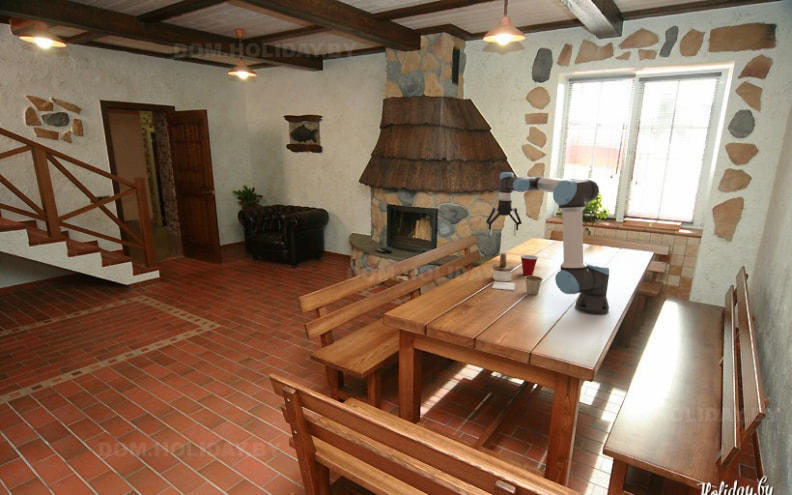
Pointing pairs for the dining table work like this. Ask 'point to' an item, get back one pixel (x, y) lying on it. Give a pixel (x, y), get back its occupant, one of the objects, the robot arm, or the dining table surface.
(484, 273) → the dining table surface
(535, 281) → the flower pot
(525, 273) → the plastic cup
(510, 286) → the mat
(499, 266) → the lid
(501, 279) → the bowl
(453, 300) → the dining table surface
